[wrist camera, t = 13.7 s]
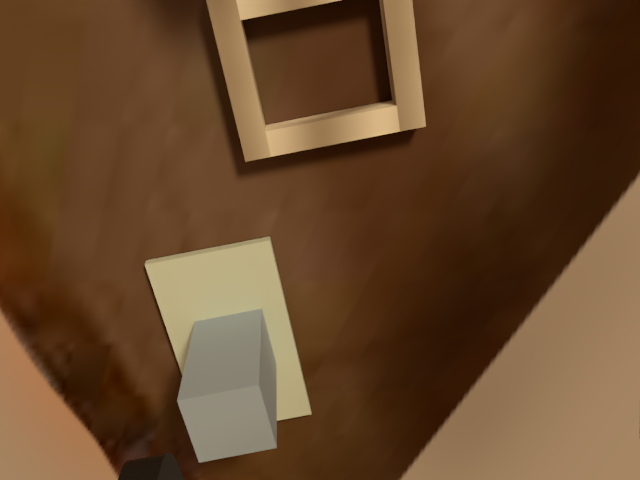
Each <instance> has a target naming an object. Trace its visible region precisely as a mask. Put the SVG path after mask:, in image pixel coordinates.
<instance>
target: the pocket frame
mask: <svg viewBox="0 0 640 480" xmlns="http://www.w3.org/2000/svg"><path fill="white" fill-rule="evenodd" d="M335 1H340V0H206V2H207V6H208V10H209V14H210V18H211V22H212V26H213V31H214V35H215V39H216V43H217V47H218V51H219V55H220V59H221V64H222V68H223V72H224V76H225V80H226V84H227V88H228V92H229V97H230V101H231V105H232V109H233V113H234V117H235V121H236V125H237V130H238V134H239V138H240V142H241V146H242V150H243V154H244V158H245V162H247V161H252V160H257V159H263V158H268V157H273V156H278V155H283V154H288V153H293V152H298V151H303V150H309V149H314V148H319V147H324V146H329V145H334V144H339V143H344V142H349V141H354V140H360V139H365V138H370V137H375V136H380V135H385V134H390V133H395V132H400V131H406V130H411V129H416V128H421V127H426V122H425V113H424V104H423V95H422V86H421V77H420V68H419V59H418V49H417V40H416V31H415V22H414V13H413V4H412V0H379V4H380V12H381V19H382V27H383V35H384V42H385V50H386V57H387V65H388V73H389V80H390V88H391V95H392V100H391V101H386V102H381V103H376V104H370V105H365V106H360V107H355V108H350V109H345V110H340V111H335V112H330V113H325V114H320V115H314V116H309V117H304V118H299V119H294V120H289V121H284V122H279V123H274V124H269V125H266V124H265V119H264V115H263V110H262V106H261V101H260V97H259V92H258V88H257V83H256V79H255V74H254V70H253V65H252V61H251V56H250V52H249V47H248V43H247V38H246V34H245V29H244V25H243V20H245V19H250V18H255V17H260V16H265V15H270V14H275V13H280V12H285V11H290V10H295V9H300V8H305V7H310V6H315V5H320V4H325V3H330V2H335Z"/></svg>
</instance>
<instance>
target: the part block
mask: <svg viewBox="0 0 640 480" xmlns="http://www.w3.org/2000/svg"><path fill="white" fill-rule="evenodd" d="M177 402H178V405H179V408H180V411H181V414H182V416H183V419H184V422H185V425H186V428H187V430H188V433H189V436H190V439H191V442H192V444H193V447H194V450H195V453H196V456H197V458H198V461H199V463H201V462H206V461H211V460H216V459H221V458H227V457H232V456H237V455H242V454H248V453H253V452H258V451H263V450H268V449H274V448H277V378H276V360H275V357H274V353H273V349H272V345H271V341H270V337H269V334H268V330H267V326H266V322H265V318H264V315H263V311H262V309H257V310H252V311H247V312H241V313H236V314H231V315H226V316H221V317H216V318H211V319H206V320H200V321H195V322H194V327H193V331H192V336H191V340H190V345H189V349H188V354H187V358H186V363H185V367H184V372H183V376H182V381H181V385H180V389H179V394H178V398H177Z"/></svg>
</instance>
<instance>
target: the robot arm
mask: <svg viewBox="0 0 640 480" xmlns="http://www.w3.org/2000/svg"><path fill="white" fill-rule="evenodd" d="M118 480H184V478H183V476H182V473H181V471H180V468H179V466H178V463H177V461H176V459H175V458H174V456H173V455H172V454H170V453H168V454H162V455H157V456H151V457H146V458H141V459H135V460H130V461H127V462H126V463H125V464H124V466H123V467H122V470H121V473H120V476H119V478H118Z"/></svg>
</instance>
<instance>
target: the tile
mask: <svg viewBox="0 0 640 480" xmlns="http://www.w3.org/2000/svg"><path fill="white" fill-rule="evenodd" d="M145 268H146V270H147V273H148V276H149V279H150V282H151V285H152V288H153V291H154V294H155V297H156V300H157V303H158V306H159V309H160V312H161V315H162V318H163V320H164V323H165V326H166V329H167V332H168V335H169V338H170V341H171V344H172V347H173V350H174V353H175V356H176V359H177V362H178V365H179V368H180V370H181V373H182V376H183V372H184V367H185V363H186V358H187V354H188V349H189V345H190V340H191V336H192V331H193V327H194V322H195V321H200V320H206V319H211V318H216V317H221V316H226V315H231V314H236V313H241V312H247V311H252V310H257V309H262V311H263V315H264V318H265V322H266V326H267V330H268V334H269V337H270V341H271V345H272V349H273V353H274V357H275V360H276V378H277V421H279V420H284V419H289V418H295V417H300V416H305V415H310V414H312V413H311V406H310V402H309V398H308V393H307V389H306V385H305V381H304V377H303V372H302V368H301V364H300V360H299V355H298V351H297V347H296V343H295V339H294V334H293V330H292V326H291V322H290V318H289V313H288V309H287V305H286V301H285V296H284V292H283V288H282V284H281V280H280V275H279V271H278V267H277V263H276V259H275V254H274V250H273V246H272V242H271V238H270V237H264V238H259V239H254V240H249V241H244V242H239V243H233V244H228V245H223V246H218V247H213V248H208V249H202V250H197V251H192V252H187V253H182V254H177V255H171V256H166V257H161V258H156V259H151V260H146V262H145Z"/></svg>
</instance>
